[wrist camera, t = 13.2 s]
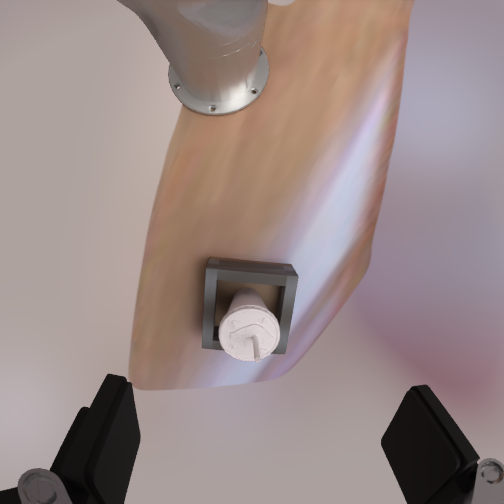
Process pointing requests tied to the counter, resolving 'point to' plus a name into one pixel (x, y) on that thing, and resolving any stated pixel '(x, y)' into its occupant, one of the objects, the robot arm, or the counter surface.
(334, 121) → the counter surface
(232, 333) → the smoothie
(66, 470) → the robot arm
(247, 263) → the frame
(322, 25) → the counter surface
